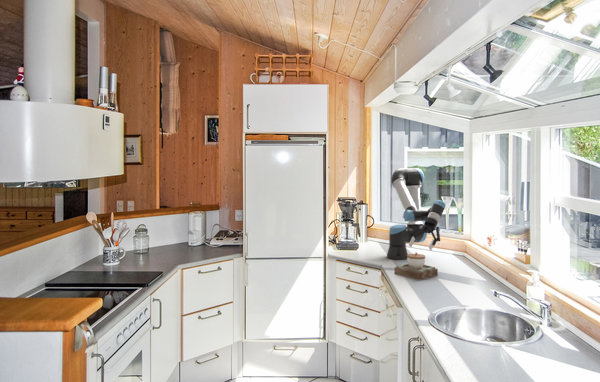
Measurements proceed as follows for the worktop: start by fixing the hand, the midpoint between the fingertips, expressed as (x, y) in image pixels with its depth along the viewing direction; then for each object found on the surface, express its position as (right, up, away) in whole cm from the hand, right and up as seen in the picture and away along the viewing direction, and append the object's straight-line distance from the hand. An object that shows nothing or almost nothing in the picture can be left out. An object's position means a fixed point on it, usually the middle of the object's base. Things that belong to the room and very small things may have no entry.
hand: (419, 247), depth 264 cm
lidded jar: (-3, -12, -3) cm, 13 cm away
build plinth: (-3, -16, -3) cm, 17 cm away
